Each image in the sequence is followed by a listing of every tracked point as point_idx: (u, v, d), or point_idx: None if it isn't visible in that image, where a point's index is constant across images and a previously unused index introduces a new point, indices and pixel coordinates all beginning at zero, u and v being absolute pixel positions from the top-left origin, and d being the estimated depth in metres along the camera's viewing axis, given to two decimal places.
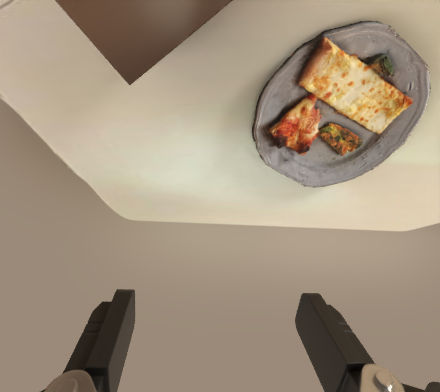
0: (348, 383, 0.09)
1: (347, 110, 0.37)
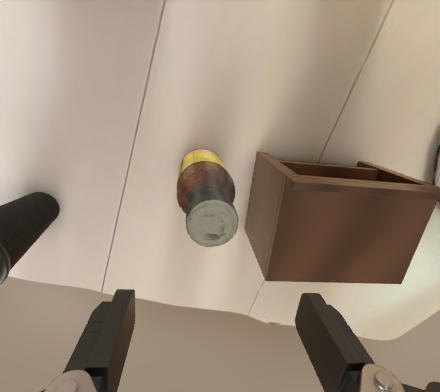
0: (348, 383, 0.09)
1: None
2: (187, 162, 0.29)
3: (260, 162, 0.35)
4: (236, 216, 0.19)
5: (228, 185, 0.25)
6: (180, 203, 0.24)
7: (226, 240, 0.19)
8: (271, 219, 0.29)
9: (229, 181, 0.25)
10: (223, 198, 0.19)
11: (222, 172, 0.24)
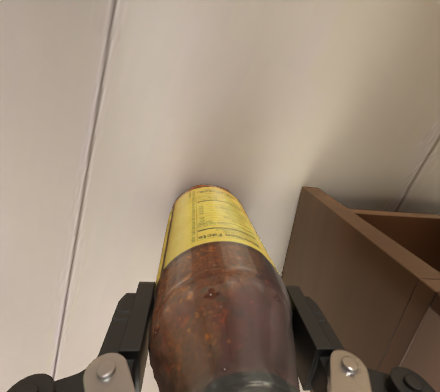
0: (318, 368, 0.09)
1: None
2: (179, 231, 0.14)
3: (313, 209, 0.20)
4: None
5: (287, 328, 0.09)
6: (156, 379, 0.09)
7: None
8: (361, 353, 0.14)
9: (286, 309, 0.10)
10: None
11: (273, 297, 0.09)
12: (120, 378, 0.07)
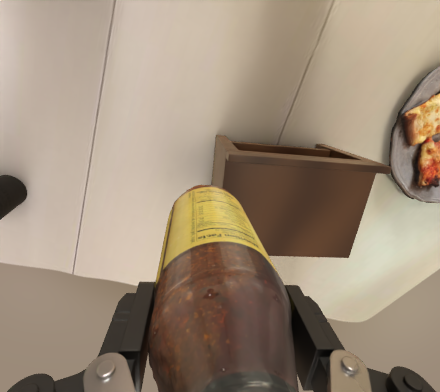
0: (318, 368, 0.09)
1: None
2: (179, 231, 0.14)
3: (217, 144, 0.37)
4: None
5: (286, 328, 0.09)
6: (155, 380, 0.09)
7: None
8: None
9: (286, 309, 0.10)
10: None
11: (272, 297, 0.09)
12: (120, 378, 0.07)
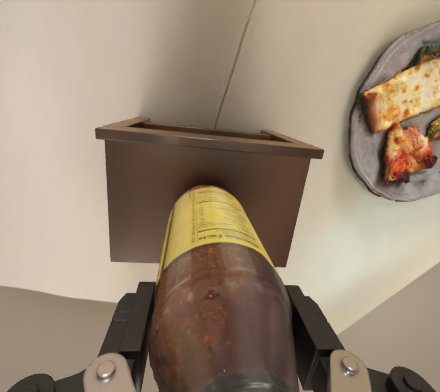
0: (318, 368, 0.09)
1: (436, 102, 0.34)
2: (179, 232, 0.14)
3: None
4: None
5: (287, 329, 0.09)
6: (156, 380, 0.09)
7: None
8: None
9: (286, 310, 0.10)
10: None
11: (272, 298, 0.09)
12: (120, 378, 0.07)
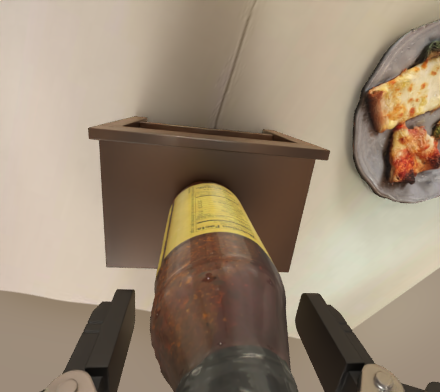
0: (348, 383, 0.09)
1: None
2: (179, 223, 0.14)
3: None
4: None
5: (280, 311, 0.10)
6: (157, 359, 0.10)
7: None
8: None
9: (280, 294, 0.10)
10: None
11: (266, 281, 0.09)
12: None
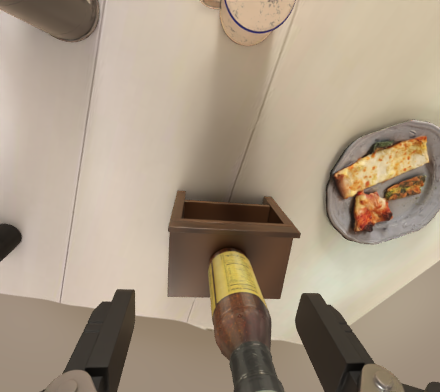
0: (348, 383, 0.09)
1: (389, 176, 0.48)
2: (220, 283, 0.29)
3: None
4: None
5: (267, 328, 0.25)
6: (219, 346, 0.24)
7: None
8: None
9: (267, 321, 0.25)
10: (272, 381, 0.19)
11: (261, 317, 0.24)
12: None
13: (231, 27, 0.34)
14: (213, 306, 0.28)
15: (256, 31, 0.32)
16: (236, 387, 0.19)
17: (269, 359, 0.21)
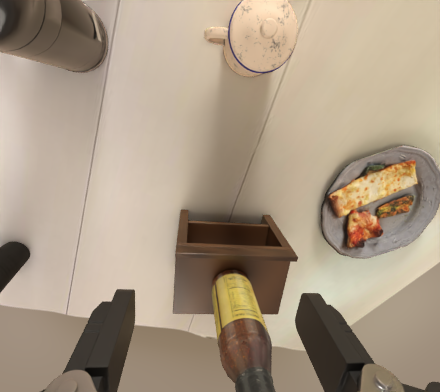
0: (348, 383, 0.09)
1: (380, 196, 0.51)
2: (225, 308, 0.32)
3: None
4: None
5: (268, 352, 0.27)
6: (225, 370, 0.27)
7: None
8: None
9: (268, 346, 0.28)
10: None
11: (263, 343, 0.27)
12: None
13: (234, 64, 0.37)
14: (218, 330, 0.30)
15: (258, 71, 0.34)
16: None
17: (271, 384, 0.24)
